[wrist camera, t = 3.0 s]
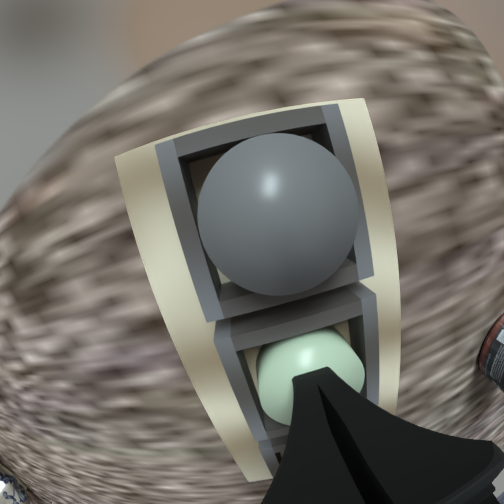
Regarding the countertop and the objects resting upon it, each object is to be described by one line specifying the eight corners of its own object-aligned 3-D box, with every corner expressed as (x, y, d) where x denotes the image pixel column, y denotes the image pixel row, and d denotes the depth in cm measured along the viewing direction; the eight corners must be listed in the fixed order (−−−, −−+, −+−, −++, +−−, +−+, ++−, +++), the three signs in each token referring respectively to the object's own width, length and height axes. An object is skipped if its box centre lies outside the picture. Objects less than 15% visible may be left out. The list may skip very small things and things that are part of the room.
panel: (383, 426, 15) (401, 457, 12) (247, 466, 15) (250, 502, 12) (349, 107, 11) (384, 84, 7) (128, 160, 11) (92, 151, 7)
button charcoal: (342, 255, 9) (369, 271, 7) (225, 287, 9) (223, 312, 7) (316, 135, 8) (338, 121, 6) (191, 165, 8) (179, 156, 6)
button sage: (349, 380, 11) (365, 407, 9) (267, 404, 11) (272, 435, 9) (342, 308, 10) (361, 331, 9) (244, 335, 10) (247, 365, 8)
